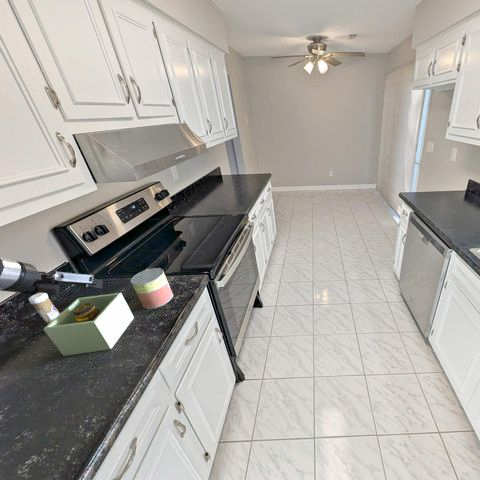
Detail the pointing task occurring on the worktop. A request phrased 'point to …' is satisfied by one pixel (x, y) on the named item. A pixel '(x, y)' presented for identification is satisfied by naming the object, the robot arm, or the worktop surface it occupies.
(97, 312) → the condiment
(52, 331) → the trash bin
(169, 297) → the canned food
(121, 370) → the worktop surface
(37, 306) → the sprinkles bottle
